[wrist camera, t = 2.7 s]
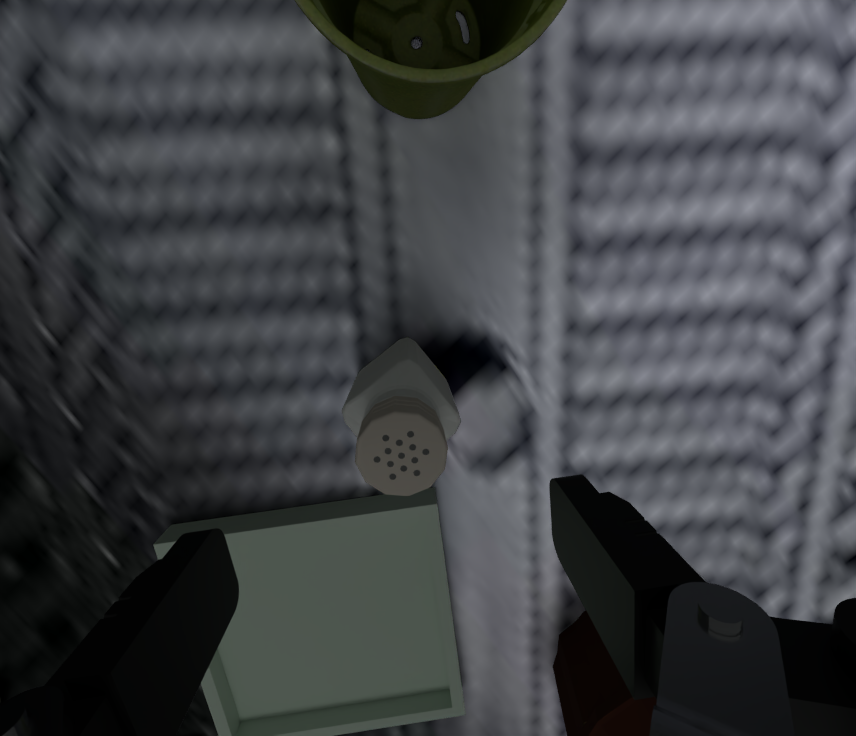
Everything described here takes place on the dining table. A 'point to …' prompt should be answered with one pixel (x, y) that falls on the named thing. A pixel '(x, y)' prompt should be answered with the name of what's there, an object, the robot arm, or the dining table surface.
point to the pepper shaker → (401, 420)
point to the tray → (334, 619)
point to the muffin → (595, 687)
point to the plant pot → (428, 44)
